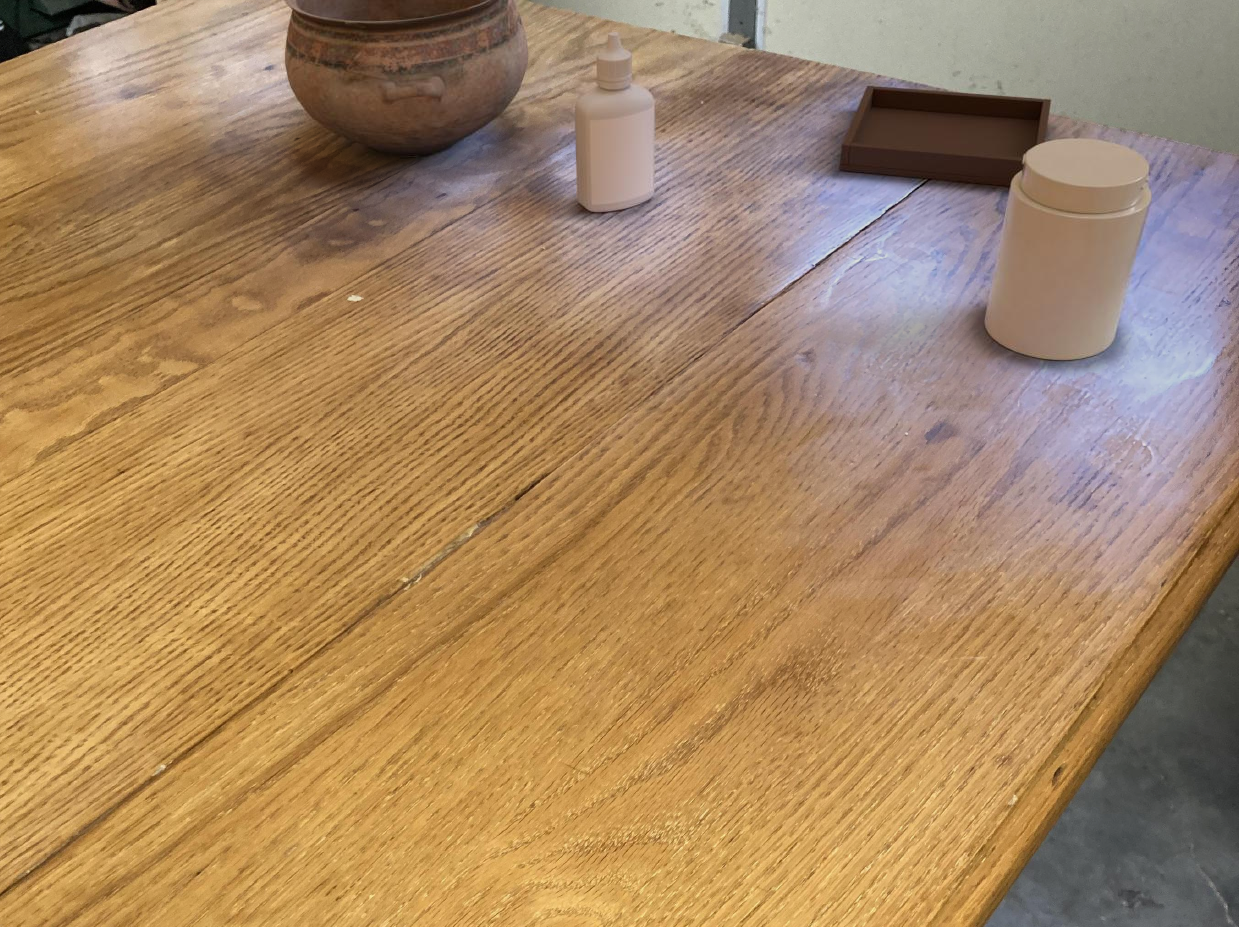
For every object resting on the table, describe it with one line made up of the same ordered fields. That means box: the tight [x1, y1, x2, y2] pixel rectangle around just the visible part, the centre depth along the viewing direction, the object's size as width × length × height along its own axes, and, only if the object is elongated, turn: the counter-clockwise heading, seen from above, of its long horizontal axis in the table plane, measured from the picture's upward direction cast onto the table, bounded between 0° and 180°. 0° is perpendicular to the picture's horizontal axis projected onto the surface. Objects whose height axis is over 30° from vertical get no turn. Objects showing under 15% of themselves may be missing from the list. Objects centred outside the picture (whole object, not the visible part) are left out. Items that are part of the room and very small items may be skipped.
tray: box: [839, 85, 1052, 187], centre depth 101 cm, size 14×12×2 cm
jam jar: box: [984, 137, 1153, 361], centre depth 77 cm, size 8×8×11 cm
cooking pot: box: [283, 0, 529, 158], centre depth 103 cm, size 25×19×12 cm
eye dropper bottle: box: [574, 31, 656, 213], centre depth 93 cm, size 4×6×12 cm
